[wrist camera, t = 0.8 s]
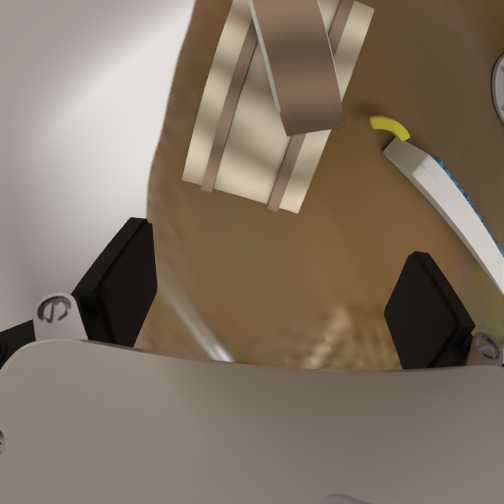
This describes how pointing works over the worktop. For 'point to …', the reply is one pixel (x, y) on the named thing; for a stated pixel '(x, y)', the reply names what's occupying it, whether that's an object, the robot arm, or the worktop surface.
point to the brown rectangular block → (299, 64)
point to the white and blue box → (444, 197)
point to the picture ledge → (263, 113)
